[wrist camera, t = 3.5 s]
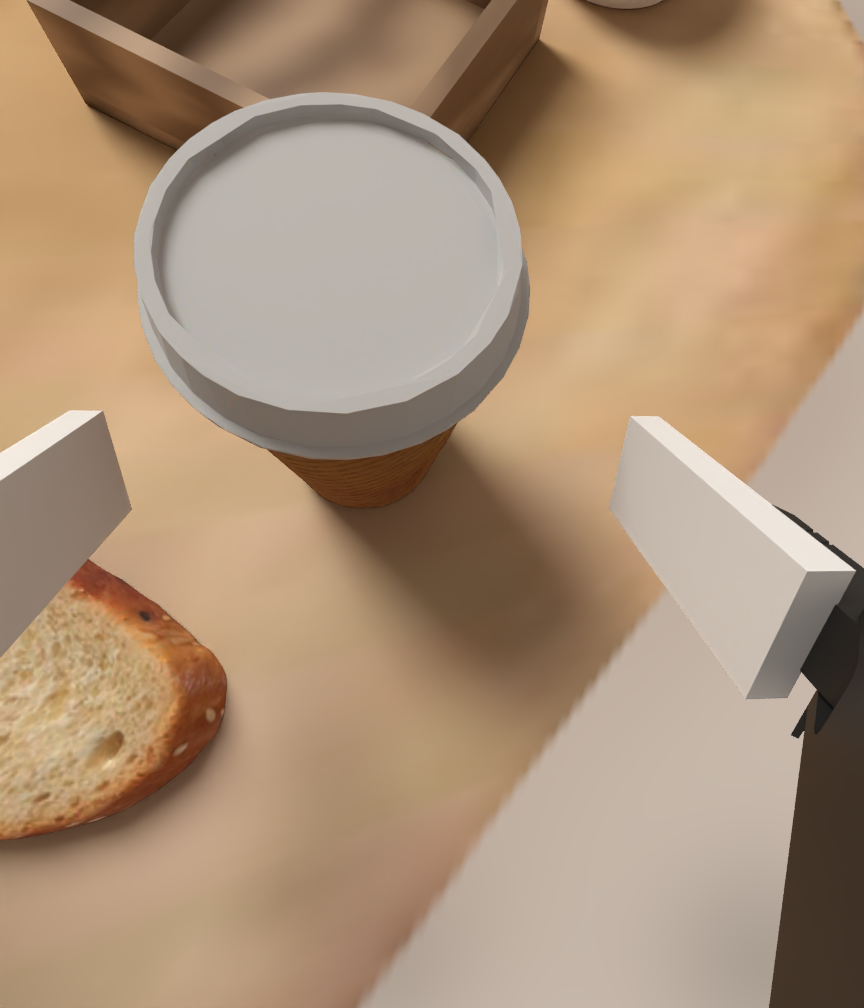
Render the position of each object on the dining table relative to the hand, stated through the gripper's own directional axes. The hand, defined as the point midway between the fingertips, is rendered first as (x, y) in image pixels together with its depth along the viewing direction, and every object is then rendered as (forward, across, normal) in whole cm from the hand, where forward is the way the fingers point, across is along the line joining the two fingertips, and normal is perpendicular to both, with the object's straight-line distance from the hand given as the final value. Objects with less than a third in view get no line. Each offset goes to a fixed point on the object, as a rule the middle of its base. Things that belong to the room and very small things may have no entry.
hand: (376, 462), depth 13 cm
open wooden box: (+25, -3, +12) cm, 28 cm away
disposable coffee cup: (+10, -1, -3) cm, 10 cm away
